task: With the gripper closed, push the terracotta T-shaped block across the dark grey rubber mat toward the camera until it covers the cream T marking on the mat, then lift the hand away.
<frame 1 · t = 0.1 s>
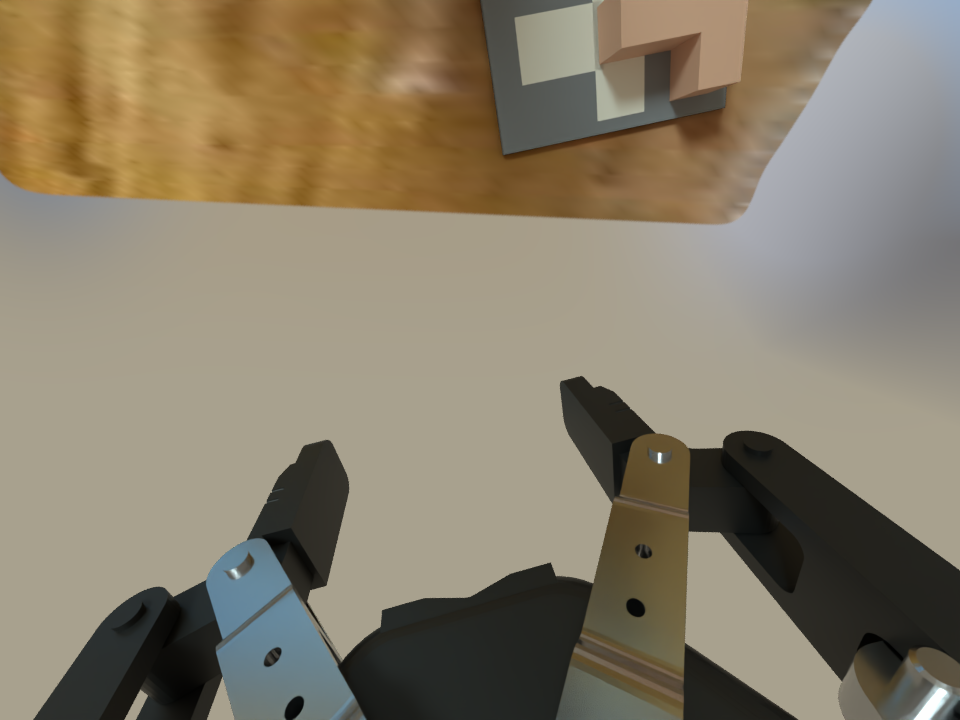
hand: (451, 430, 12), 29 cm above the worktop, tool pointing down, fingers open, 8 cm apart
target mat: (611, 36, 33), on the worktop
T-block: (656, 25, 32), point 1 cm above the worktop, touching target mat
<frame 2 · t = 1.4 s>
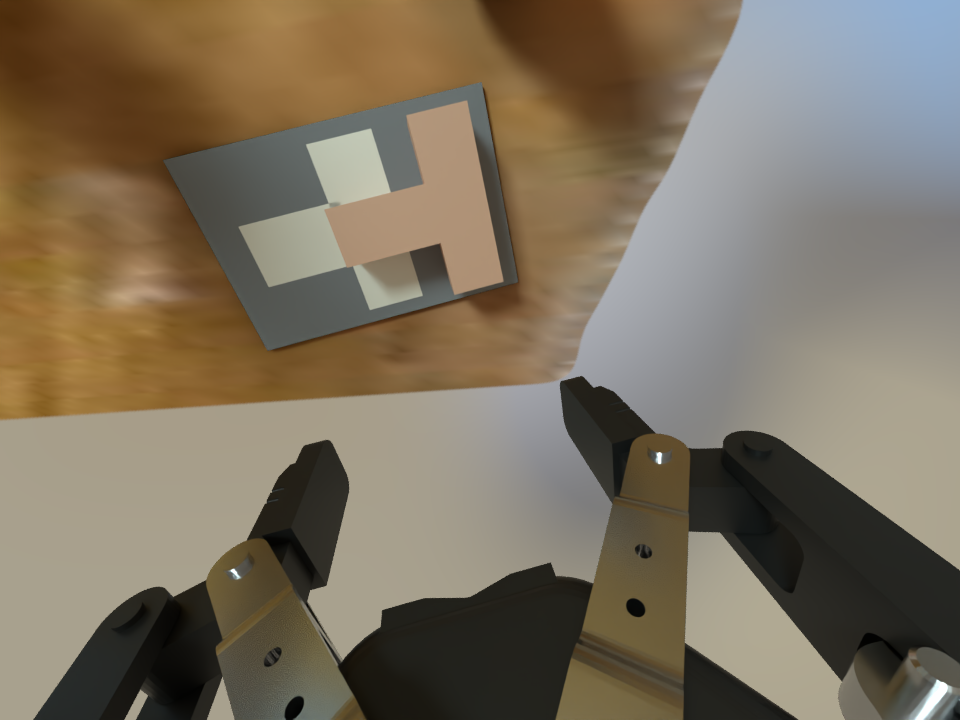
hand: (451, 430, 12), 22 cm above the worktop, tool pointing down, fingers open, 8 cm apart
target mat: (365, 228, 29), on the worktop
T-block: (412, 216, 29), point 1 cm above the worktop, touching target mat
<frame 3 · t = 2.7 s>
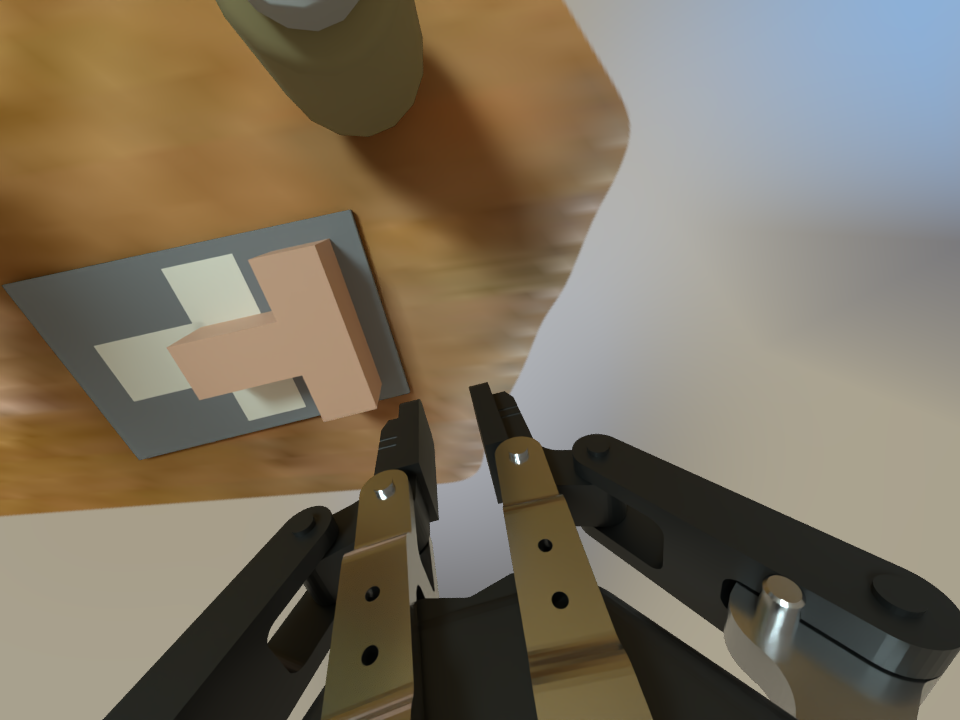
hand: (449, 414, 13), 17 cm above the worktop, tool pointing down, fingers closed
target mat: (237, 344, 28), on the worktop
T-block: (287, 334, 28), point 1 cm above the worktop, touching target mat
squeeze bottle: (357, 71, 22), on the worktop
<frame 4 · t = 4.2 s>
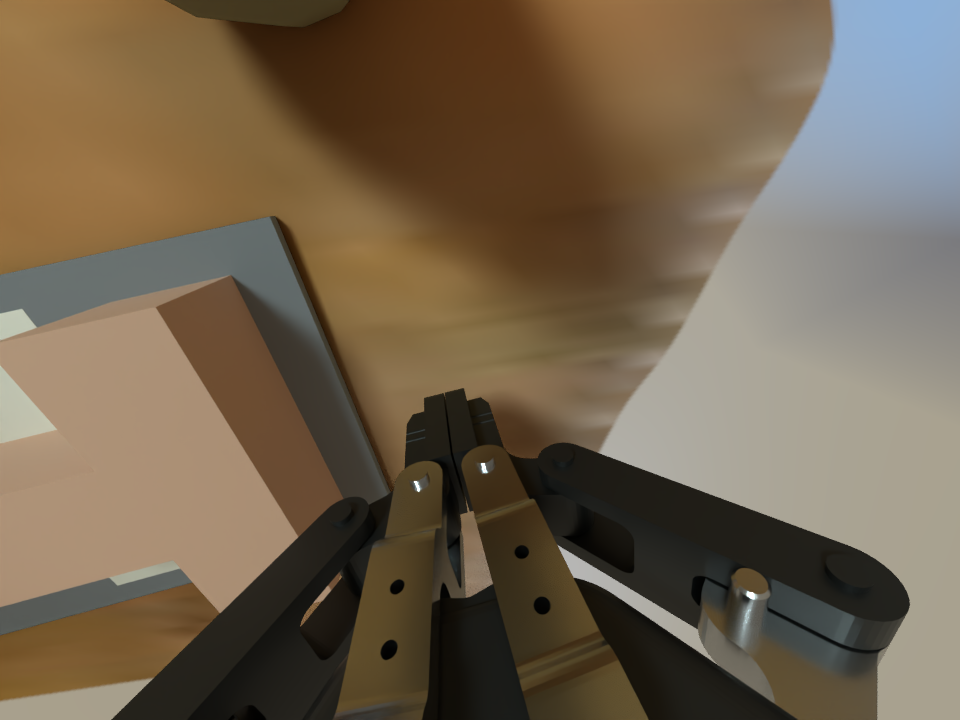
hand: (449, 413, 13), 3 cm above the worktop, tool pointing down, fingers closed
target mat: (76, 467, 15), on the worktop
T-block: (167, 450, 15), point 1 cm above the worktop, touching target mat
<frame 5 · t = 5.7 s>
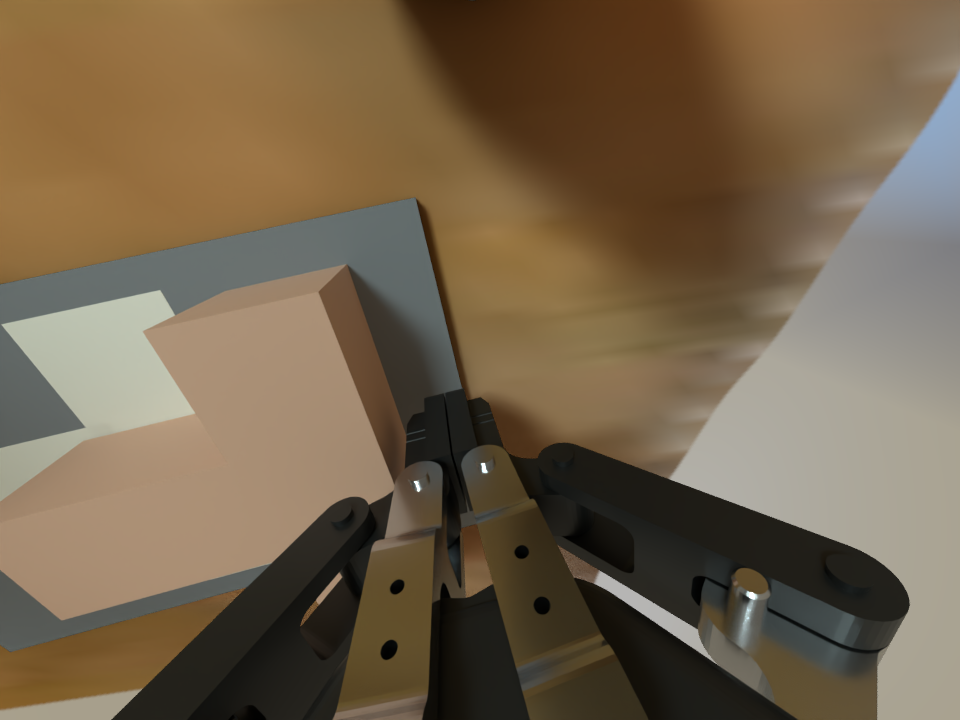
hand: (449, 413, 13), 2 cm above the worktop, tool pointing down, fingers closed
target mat: (184, 456, 14), on the worktop
T-block: (261, 445, 14), point 1 cm above the worktop, touching gripper, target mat
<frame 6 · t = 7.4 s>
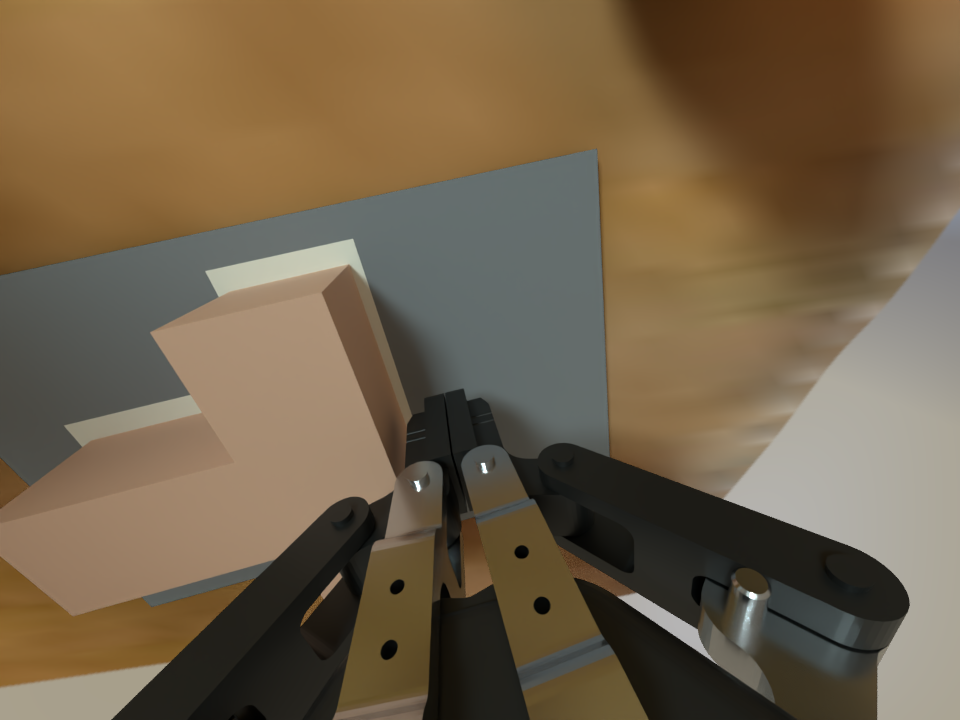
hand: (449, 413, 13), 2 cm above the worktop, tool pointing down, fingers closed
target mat: (338, 410, 15), on the worktop
T-block: (266, 443, 14), point 1 cm above the worktop, touching gripper, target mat
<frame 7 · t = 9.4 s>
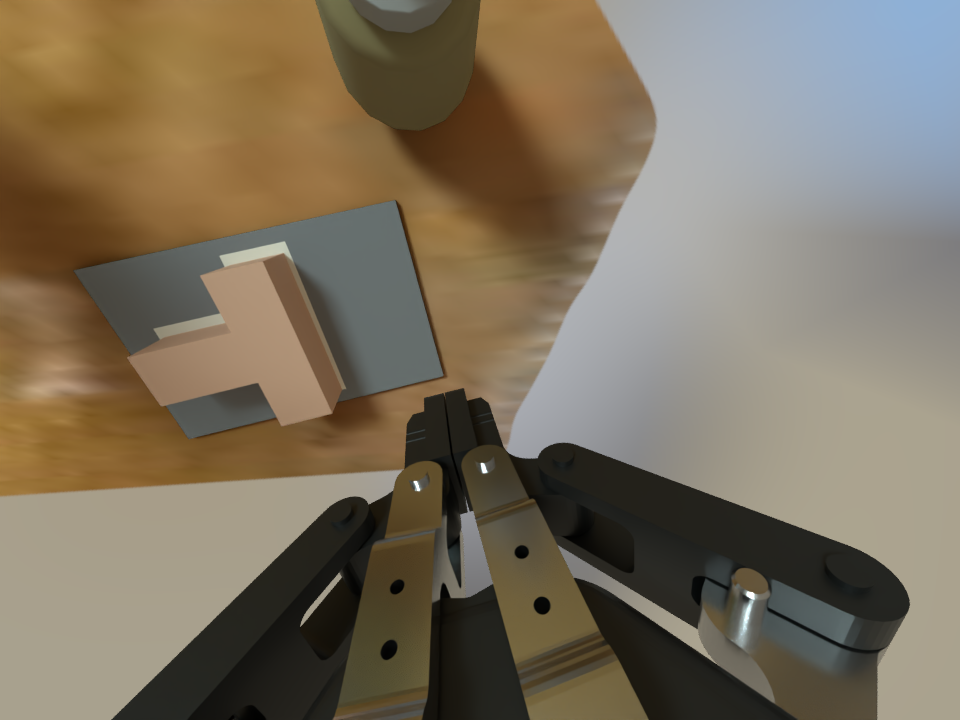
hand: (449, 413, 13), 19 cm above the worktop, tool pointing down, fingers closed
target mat: (284, 328, 29), on the worktop
T-block: (248, 343, 29), point 1 cm above the worktop, touching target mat
squeeze bottle: (406, 70, 24), on the worktop
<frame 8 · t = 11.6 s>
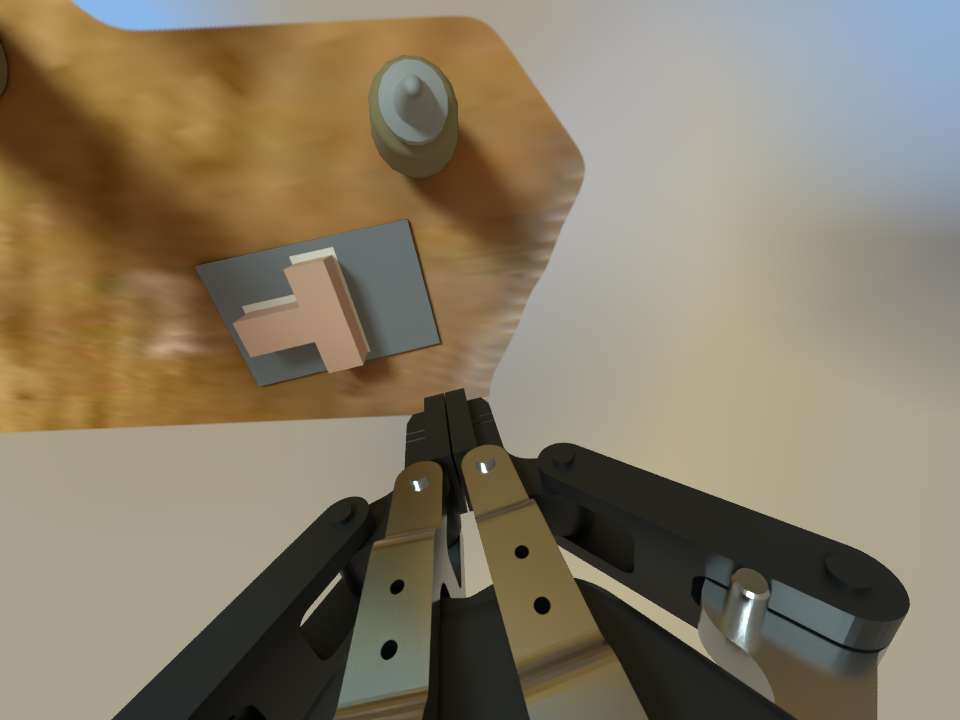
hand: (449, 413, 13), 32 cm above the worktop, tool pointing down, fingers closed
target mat: (329, 307, 42), on the worktop
T-block: (304, 317, 42), point 1 cm above the worktop, touching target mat
squeeze bottle: (415, 136, 37), on the worktop
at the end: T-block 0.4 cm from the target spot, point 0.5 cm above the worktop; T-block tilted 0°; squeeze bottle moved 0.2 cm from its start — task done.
